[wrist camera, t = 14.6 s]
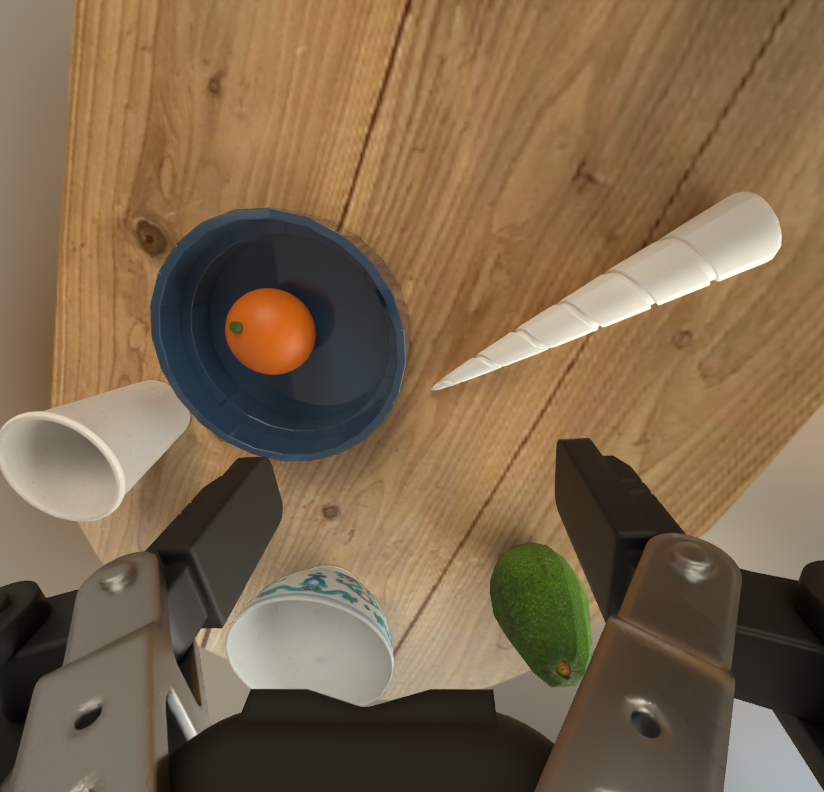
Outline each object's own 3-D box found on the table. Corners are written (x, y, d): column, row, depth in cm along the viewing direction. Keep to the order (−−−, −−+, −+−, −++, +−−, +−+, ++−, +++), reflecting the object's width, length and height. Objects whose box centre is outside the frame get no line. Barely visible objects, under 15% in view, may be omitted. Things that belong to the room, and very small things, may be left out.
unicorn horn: (409, 348, 31) (405, 365, 27) (724, 190, 26) (785, 180, 21) (436, 397, 33) (436, 422, 28) (739, 257, 27) (799, 260, 23)
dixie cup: (118, 349, 33) (-8, 393, 24) (214, 387, 34) (129, 444, 24) (107, 430, 36) (-8, 496, 27) (195, 463, 37) (114, 539, 27)
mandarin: (278, 289, 31) (207, 269, 25) (340, 306, 29) (280, 289, 23) (262, 362, 32) (191, 360, 26) (322, 384, 30) (259, 386, 24)
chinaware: (361, 514, 38) (344, 578, 31) (423, 619, 42) (420, 696, 35) (234, 556, 41) (191, 624, 34) (305, 650, 45) (280, 726, 38)
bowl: (198, 188, 28) (145, 177, 23) (433, 244, 28) (432, 245, 23) (197, 404, 34) (154, 432, 29) (387, 446, 35) (379, 482, 30)
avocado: (583, 543, 37) (644, 672, 26) (536, 595, 40) (573, 731, 29) (511, 509, 36) (544, 627, 25) (468, 564, 39) (481, 693, 28)
